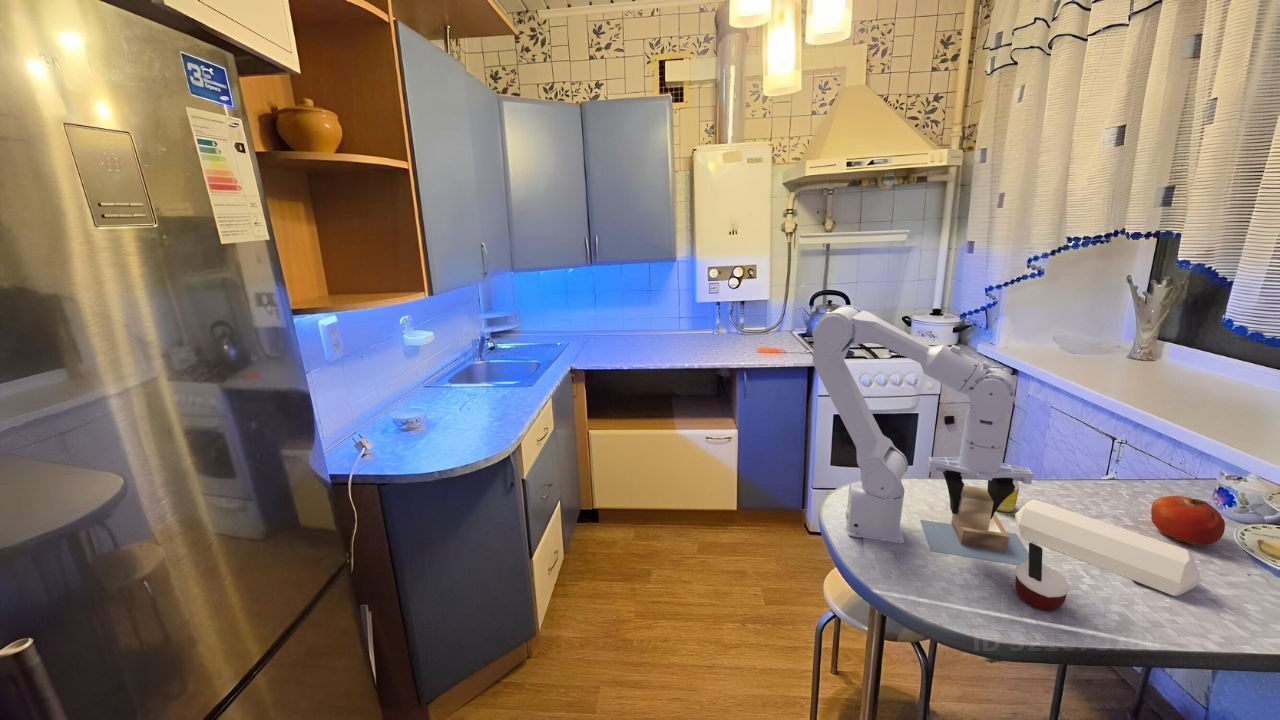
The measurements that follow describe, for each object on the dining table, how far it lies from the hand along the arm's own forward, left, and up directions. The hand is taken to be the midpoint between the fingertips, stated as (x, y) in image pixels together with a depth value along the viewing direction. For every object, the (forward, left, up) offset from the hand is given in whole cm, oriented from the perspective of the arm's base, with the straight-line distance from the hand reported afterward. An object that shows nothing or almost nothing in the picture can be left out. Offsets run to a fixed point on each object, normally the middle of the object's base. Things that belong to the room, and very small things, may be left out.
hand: (970, 513), depth 85 cm
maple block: (0, 0, -2) cm, 2 cm away
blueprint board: (+3, +4, -9) cm, 10 cm away
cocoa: (+8, -9, -9) cm, 15 cm away
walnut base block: (+4, +6, -8) cm, 11 cm away
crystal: (+21, +6, -9) cm, 24 cm away
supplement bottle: (+11, +18, -9) cm, 23 cm away
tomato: (+39, +17, -9) cm, 43 cm away
